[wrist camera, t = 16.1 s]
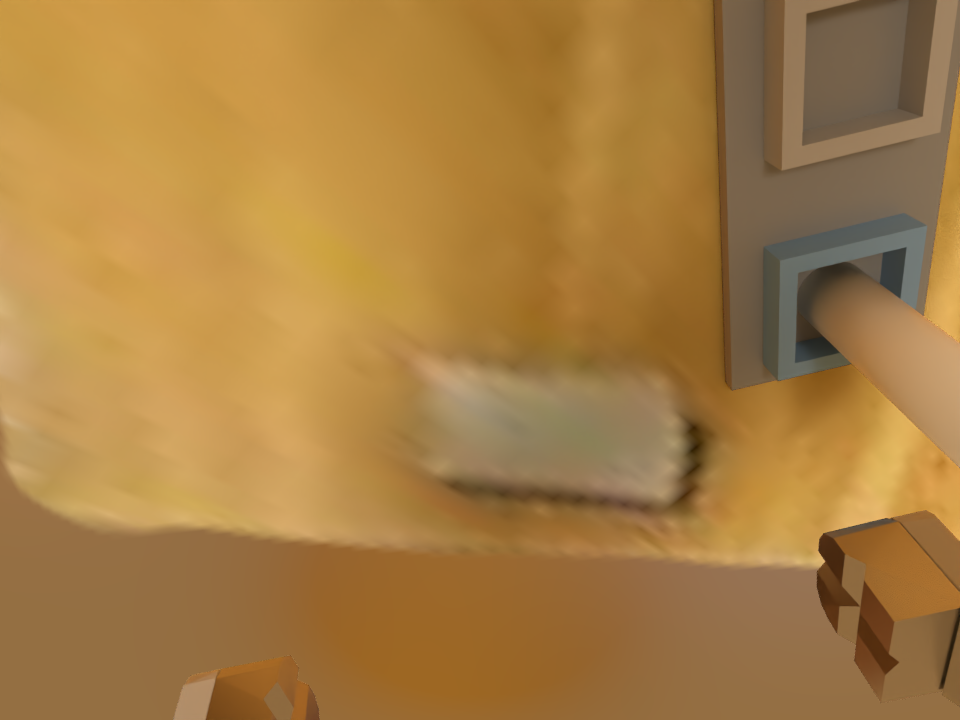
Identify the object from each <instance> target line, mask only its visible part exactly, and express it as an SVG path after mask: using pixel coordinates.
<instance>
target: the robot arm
mask: <svg viewBox="0 0 960 720" xmlns="http://www.w3.org/2000/svg"><path fill="white" fill-rule="evenodd" d="M818 551H819V553H820V554H821V556H822V557H823V559H824V560H825V563H824V564H823V565H822V566H821V567H820V568H819V569H818V571H817V590H818V594H819V598H820V601H821V605H822V607H823V609H824V611H825V614H826V616H827V618H828V619H829V621H830V623H831V624H832V626H833V628H834V630H835V631H836V633H837V634H838V635H840V636H842V637H843V638H845V639H847V640H849V641H850V642H852V643H854V644H855V645H856V648H855V658H854V661H855V663H856V665H857V666H858V668H859V669H860V671H861V672H862V674H863V675H864V677H865V679H866V680H867V682H868V683H869V684H870V686H871V688H872V689H873V691H874V693H875V694H876V696H877V697H878V699H879V701H880V702H881V703H883V702H889V701H894V700H899V699H905V698H910V697H915V696H921V695H926V694H931V693H936V692H942V691H943V693H942V695H943V696H944V697H946V698H947V699H949V700H950V701H952V702H953V703H955V704H956V705H957V706H959V707H960V541H959V540H958V539H957V538H956V537H955V536H954V535H953V534H952V533H951V532H950V531H949V530H948V529H947V528H946V526H945V525H944V524H943V523H942V522H941V521H940V520H939V519H938V518H937V517H936V516H935V515H934V514H932V513H930V512H928V511H926V510H925V511H919V512H915V513H910V514H906V515H902V516H897V517H893V518H890V519H888V518H885V519H881V520H877V521H872V522H868V523H864V524H860V525H856V526H852V527H848V528H843V529H839V530H835V531H831V532H827V533H823V535H822V536H821V538H820V539H819V549H818ZM298 672H299V667H298V665H297V664H296V662H295V661H294V659H293V658H292V656H291V655H289V656H284V657H279V658H273V659H268V660H263V661H258V662H253V663H248V664H243V665H238V666H233V667H228V668H223V669H218V670H213V671H209V672H204V673H200V674H195V675H191V676H190V677H189V678H188V680H187V681H186V683H185V684H184V686H183V688H182V691H181V694H180V698H179V701H178V704H177V708H176V711H175V715H174V718H173V720H320V719H319V708H318V705H317V702H316V698H315V695H314V693H313V691H312V690H311V688H310V686H309V685H307V684H305V683H303V682H301V681H298V680H297V679H298Z"/></svg>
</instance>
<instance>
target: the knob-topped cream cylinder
mask: <svg viewBox="0 0 960 720" xmlns="http://www.w3.org/2000/svg"><path fill="white" fill-rule="evenodd" d="M797 308H798V311H799V312H800V314H801V315H802V316H803V317H804V318H805V319H806V320H807V321H808V322H809V323H810V324H811V325H812V326H813V327H814V328H815V329H816V330H817V331H818V332H819V333H820V334H821V335H822V336H824V337H825V338H826V339H827V340H828V341H829V342H830V343H831V344H832V345H833V346H834V347H835V348H836V349H837V350H838V351H839V352H840V353H841V354H842V355H843V356H844V357H845V358H846V359H847V360H848V361H849V362H850V363H851V364H853V365H854V366H855V367H856V368H857V369H858V370H859V371H860V372H861V373H862V374H863V375H864V376H865V377H866V378H867V379H868V380H869V381H870V382H871V383H872V384H873V385H874V386H875V387H876V388H877V389H878V390H879V391H880V392H881V393H883V394H884V395H885V396H886V397H887V398H888V399H889V400H890V401H891V402H892V403H893V404H894V405H895V406H896V407H897V408H898V409H899V410H900V411H901V412H902V413H903V414H904V415H905V416H906V417H907V418H908V419H909V420H910V421H911V422H913V423H914V424H915V425H916V426H917V427H918V428H919V429H920V430H921V431H922V432H923V433H924V434H925V435H926V436H927V437H928V438H929V439H930V440H931V441H932V442H933V443H934V444H935V445H936V446H937V447H938V448H939V449H940V450H941V451H943V452H944V453H945V454H946V455H947V456H948V457H949V458H950V459H951V460H952V461H953V462H954V463H955V464H956V465H957V466H958V467H959V468H960V343H959V342H958V341H956V340H955V339H954V338H952V337H951V336H950V335H948V334H947V333H945V332H944V331H943V330H941V329H940V328H939V327H937V326H936V325H935V324H933V323H932V322H931V321H929V320H928V319H927V318H925V317H924V316H923V315H921V314H920V313H919V312H917V311H916V310H915V309H913V308H912V307H911V306H909V305H908V304H907V303H905V302H904V301H902V300H901V299H900V298H898V297H897V296H896V295H894V294H893V293H892V292H890V291H889V290H888V289H886V288H885V287H884V286H882V285H881V284H880V283H878V282H877V281H876V280H874V279H873V278H872V277H870V276H869V275H868V274H866V273H865V272H864V271H862V270H861V269H860V268H858V267H857V266H855V265H854V264H852V263H849V262H842V263H837V264H833V265H829V266H825V267H821V268H818V269H816V270H815V271H813V272H812V273H811V274H810V275H809V276H808V277H807V278H806V279H805V280H804V282H803V283H802V285H801V287H800V289H799V291H798V294H797Z"/></svg>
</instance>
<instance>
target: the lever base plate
mask: <svg viewBox="0 0 960 720" xmlns="http://www.w3.org/2000/svg"><path fill="white" fill-rule="evenodd" d="M714 19H715V51H716V84H717V116H718V149H719V181H720V213H721V246H722V278H723V310H724V343H725V375H726V383H727V384H728V386H729V387H730V388H731V390H736V389H740V388H745V387H749V386H753V385H758V384H762V383H766V382H770V381H775V380H777V381H781V380H785V379H789V378H793V377H798V376H802V375H806V374H811V373H815V372H819V371H823V370H828V369H832V368H836V367H840V366H845V365H849V364H851V363H850V362H849V361H848V360H847V359H846V358H845V357H844V356H843V355H842V354H841V353H840V352H839V351H838V350H837V349H836V348H835V347H834V346H833V345H832V344H831V343H830V342H829V341H828V340H827V339H826V338H825V337H824V336H822V335H821V334H820V333H819V332H818V331H817V330H816V329H815V328H814V327H813V326H812V325H811V324H810V323H809V322H808V321H807V320H806V319H805V318H804V317H803V316H802V315H801V314H800V312H799V311H798V308H797V294H798V291H799V289H800V287H801V285H802V283H803V282H804V280H805V279H806V278H807V277H808V276H809V275H810V274H811V273H812V272H813V271H815V270H816V269H818V268H821V267H825V266H829V265H833V264H837V263H842V262H849V263H852V264H854V265H855V266H857V267H858V268H860V269H861V270H862V271H864V272H865V273H866V274H868V275H869V276H870V277H872V278H873V279H874V280H876V281H877V282H878V283H880V284H881V285H882V286H884V287H885V288H886V289H888V290H889V291H890V292H892V293H893V294H894V295H896V296H897V297H898V298H900V299H901V300H902V301H904V302H905V303H907V304H908V305H909V306H911V307H912V308H913V309H915V310H916V311H917V312H919V313H920V314H921V315H923V316H924V309H925V302H926V295H927V288H928V281H929V275H930V268H931V261H932V254H933V247H934V240H935V233H936V226H937V219H938V212H939V205H940V198H941V192H942V185H943V178H944V171H945V164H946V157H947V150H948V143H949V136H950V129H951V122H952V115H953V109H954V102H955V95H956V88H957V81H958V74H959V67H960V0H714Z"/></svg>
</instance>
